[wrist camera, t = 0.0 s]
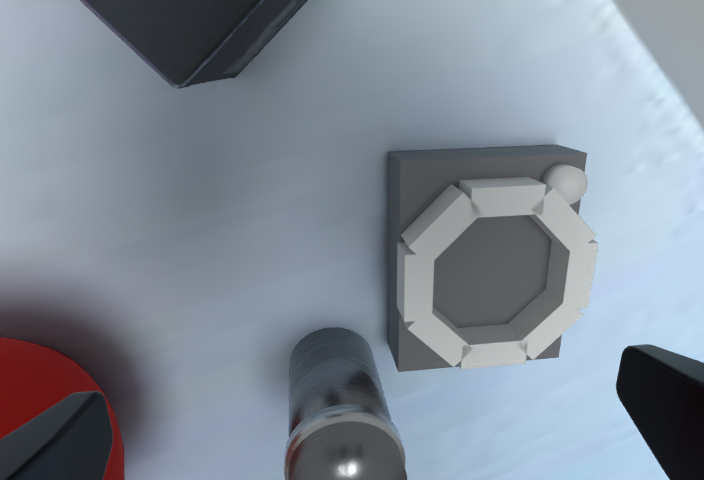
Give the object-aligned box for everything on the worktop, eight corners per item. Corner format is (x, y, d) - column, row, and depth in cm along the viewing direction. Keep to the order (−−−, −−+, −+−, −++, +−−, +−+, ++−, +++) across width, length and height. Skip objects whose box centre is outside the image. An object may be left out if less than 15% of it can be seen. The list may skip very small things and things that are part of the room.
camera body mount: (536, 331, 26) (577, 375, 22) (386, 343, 25) (403, 391, 21) (558, 144, 23) (611, 159, 19) (386, 151, 22) (406, 168, 18)
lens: (376, 398, 26) (410, 528, 19) (289, 406, 26) (288, 544, 18) (375, 321, 25) (412, 430, 17) (283, 328, 24) (279, 444, 17)
